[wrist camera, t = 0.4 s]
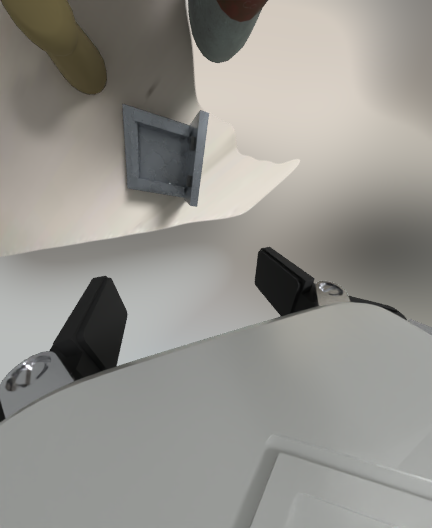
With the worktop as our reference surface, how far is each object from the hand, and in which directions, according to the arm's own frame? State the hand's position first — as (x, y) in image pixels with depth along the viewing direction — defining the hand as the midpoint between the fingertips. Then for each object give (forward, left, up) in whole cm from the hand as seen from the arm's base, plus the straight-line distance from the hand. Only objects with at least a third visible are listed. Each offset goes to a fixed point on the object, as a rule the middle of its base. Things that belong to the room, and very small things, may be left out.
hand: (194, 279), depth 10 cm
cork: (-17, -13, -29) cm, 36 cm away
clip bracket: (-8, -2, -29) cm, 30 cm away
